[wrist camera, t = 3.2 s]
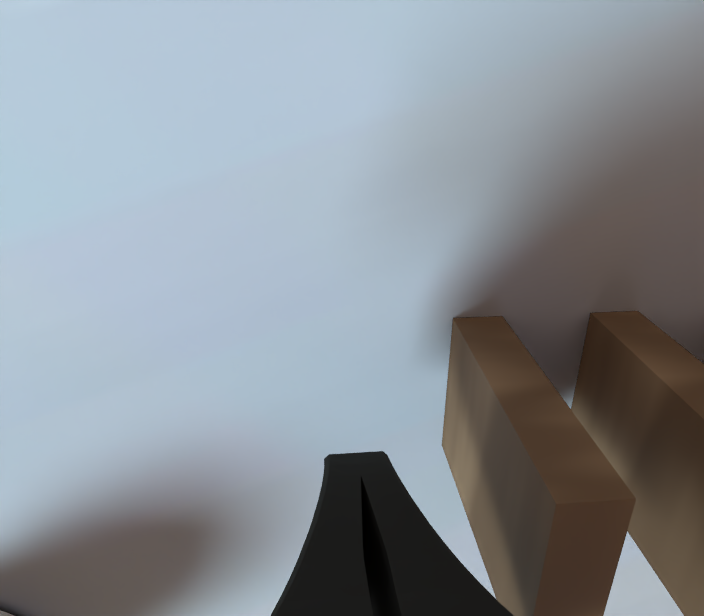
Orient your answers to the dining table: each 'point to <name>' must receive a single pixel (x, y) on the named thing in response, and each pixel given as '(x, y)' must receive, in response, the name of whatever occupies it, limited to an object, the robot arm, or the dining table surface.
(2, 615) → the supplement bottle
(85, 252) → the dining table surface
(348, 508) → the robot arm
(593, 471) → the domino
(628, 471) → the domino
